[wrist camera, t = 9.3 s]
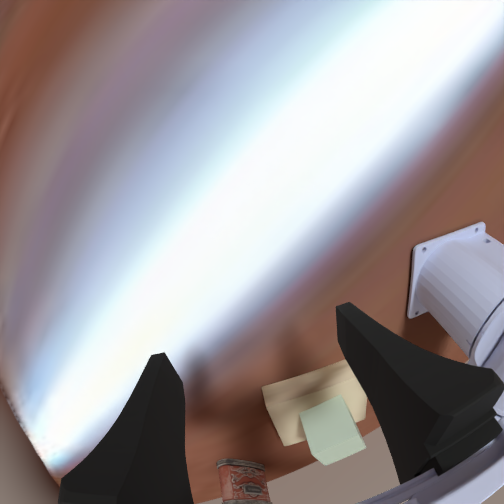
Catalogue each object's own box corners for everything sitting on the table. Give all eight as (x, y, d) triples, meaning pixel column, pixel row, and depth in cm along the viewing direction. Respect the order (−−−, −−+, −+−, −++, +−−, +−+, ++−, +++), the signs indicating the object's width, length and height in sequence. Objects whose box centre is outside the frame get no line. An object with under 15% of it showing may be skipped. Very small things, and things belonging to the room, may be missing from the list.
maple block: (356, 350, 28) (368, 371, 25) (356, 400, 33) (365, 418, 30) (260, 383, 28) (266, 406, 25) (279, 426, 33) (284, 446, 30)
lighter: (269, 464, 37) (282, 520, 28) (254, 472, 38) (265, 525, 29) (225, 456, 34) (235, 520, 25) (211, 464, 35) (218, 524, 26)
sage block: (340, 394, 26) (358, 434, 22) (350, 411, 28) (366, 447, 24) (299, 413, 27) (311, 454, 22) (312, 429, 29) (325, 465, 24)
